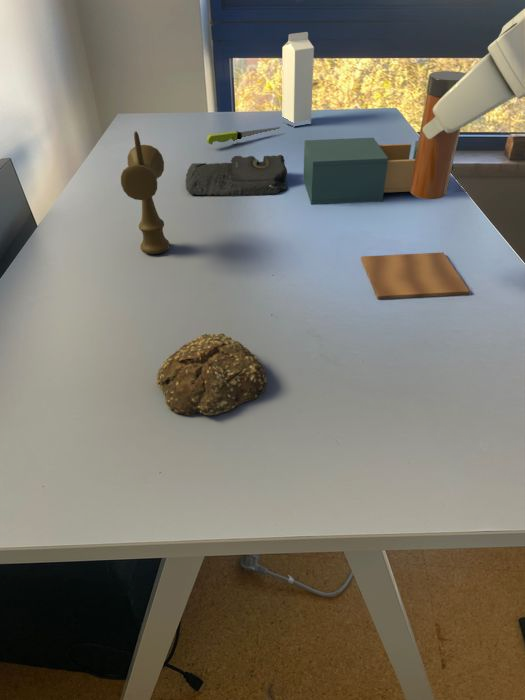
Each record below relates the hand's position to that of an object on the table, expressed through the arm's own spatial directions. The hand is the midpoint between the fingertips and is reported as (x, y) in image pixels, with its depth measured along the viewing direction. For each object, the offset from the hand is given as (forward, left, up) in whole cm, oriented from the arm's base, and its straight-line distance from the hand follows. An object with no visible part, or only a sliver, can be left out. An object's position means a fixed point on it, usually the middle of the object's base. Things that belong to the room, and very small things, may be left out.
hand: (436, 127), depth 68 cm
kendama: (+42, -13, -23) cm, 49 cm away
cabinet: (+5, -35, -23) cm, 42 cm away
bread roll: (+32, +22, -23) cm, 45 cm away
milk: (+9, -83, -23) cm, 86 cm away
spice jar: (0, 0, -9) cm, 9 cm away
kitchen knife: (+24, -69, -23) cm, 76 cm away
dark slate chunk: (+27, -42, -23) cm, 54 cm away
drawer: (-8, -35, -22) cm, 42 cm away
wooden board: (0, 0, -23) cm, 23 cm away
